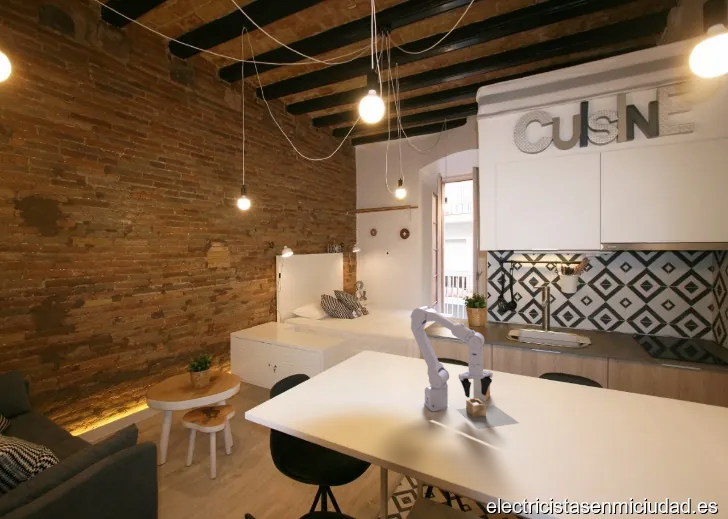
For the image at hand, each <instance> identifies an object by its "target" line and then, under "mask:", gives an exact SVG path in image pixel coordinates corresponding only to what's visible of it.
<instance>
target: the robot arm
mask: <svg viewBox="0 0 728 519" xmlns="http://www.w3.org/2000/svg"><path fill="white" fill-rule="evenodd" d="M409 317H410V319H411V324H410V330H411V332H412V335H413V336H414V339H415V341H416V343H417V346H418V348H419V351H420V352H421V354H422V357H423V359H424V362H425V364H426V366H427V373H426V374H427V376H428V382H429V386H427V387H425V388H424V402H423V404H424V406H426V407H427V409H428V410H430V412H438V411H443V410H445V409H447V408H448V407H450V405H449V404H448V397H449V396H448V395H449V394H448V390H449V389H448V387H449V385H448V383H447V381H449V379H450V373H449V371H448V370H447V369H446V368H445V367H444V364H442V363H441V362H440V361H439V360H438V356H437V355H436V352H435V351H434V348H433V346H432V343H431V342H430V340H429V337H428V334H427V333H426V331H425V326H426V325H427V323H428V322H435V323H437V324H439V325H441V326H442V327H444V328H445V329H448V330H449V331H450V332H451V335H452V336H454V337H456V338H457V339H459V340H461V341H462V342H464V343H466V344H467V346H468V371H467V372H464V373H459V374H458V380H459V381H460V383H461V386H462V388H463V391H464V396H465V397H466V398H469V399H470V396H471V395H470V394H471V393H470V392H471V386H472V382H471V381H470V380H472V379H475V378H479V379H480V380H481V393H482V394H483V395H484V396H486V393H487V390H488V387H489V385H490V386H491V383H493V379H492V378H493V376H494V374H493V372H491V371H486V370H485V371H484V346H483V345H484V343H485V336H484V335H483V334H482V333H481V332H478V331H475V330H474V329H470V328H469V327H468V326H467V327H466V326H465V323H464V322H462V323H460V322H457V323H455V322H454V321H452V320H450V319H448V318H447V317H446V316H445V315H443V314H441V313H440V312H439V311H436V309H434V308H432V307H430V306H428V305H422V306H420V307H417V308H414V309H413V310H412V312H411V314H410V316H409Z"/></svg>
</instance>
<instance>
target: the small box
mask: <svg viewBox="0 0 728 519" xmlns="http://www.w3.org/2000/svg"><path fill="white" fill-rule="evenodd" d="M472 384H473V385H472V386H473V392H472V393H473V398H475V399H479V400H481V401H482V402H486V401H487V400H488V398H489V397H491V396H490V395H491V384H490V385H489V387H488V390H487V393H486V396H484V395H483V394H482V393H481V380H480V379H479V378H475V379H473V383H472Z"/></svg>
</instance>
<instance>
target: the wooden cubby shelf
mask: <svg viewBox="0 0 728 519" xmlns="http://www.w3.org/2000/svg"><path fill="white" fill-rule="evenodd" d="M465 402H466V403H465V405H466V411H467V412H468V413H470V414H471V415H472V416H473V417H478V416H485V415H486V406H487V404H486V403H485V402H484V401H483V400H479V399H475V398H474V397H472V398H469V399H466V401H465ZM474 402H477V403H479V404H477V405H474V404H473V403H474Z"/></svg>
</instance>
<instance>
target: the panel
mask: <svg viewBox="0 0 728 519" xmlns="http://www.w3.org/2000/svg"><path fill="white" fill-rule="evenodd" d="M473 404H474V405H477V404H479V403H477V402H474V403H473ZM456 411H457V412H459V413H460V414H461V415H462V416H463V417H464V418H466V419H467V420H468V421H469V422H470V423H471V424H472V425H473V426H474V427H475V428H477V429H478V430H480V429H481V430H482V429H486V428H494V427H499V426H500V427H501V426H502V427H503V426H507V425H515V424H520V421H517V420H516V419H514V418H513V417H512V416H510V415H509V414H508V413H506V411H505V412H504V410H502V409H501V408H499V407H497V405H494V404H490V405H489V404H488V405H486V415H485V416H478V417H473V416H472V415H471V414H470V413H468V412H467V411H466V408H458V409H456Z"/></svg>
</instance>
